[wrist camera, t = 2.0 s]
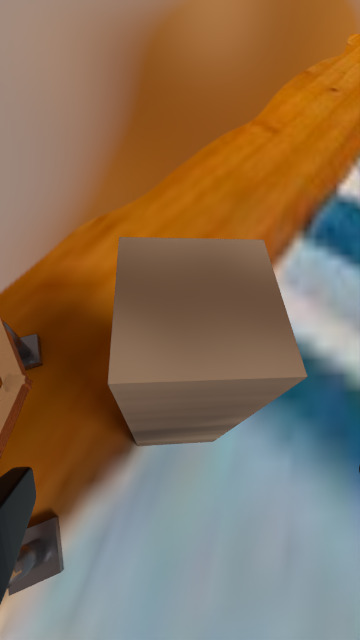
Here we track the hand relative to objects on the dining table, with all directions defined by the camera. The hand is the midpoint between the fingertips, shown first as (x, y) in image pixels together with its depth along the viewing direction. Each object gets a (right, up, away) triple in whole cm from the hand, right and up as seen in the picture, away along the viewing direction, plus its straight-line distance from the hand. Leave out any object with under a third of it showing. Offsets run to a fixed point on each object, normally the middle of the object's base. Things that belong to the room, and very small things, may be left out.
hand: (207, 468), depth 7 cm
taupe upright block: (-1, -2, +12) cm, 12 cm away
